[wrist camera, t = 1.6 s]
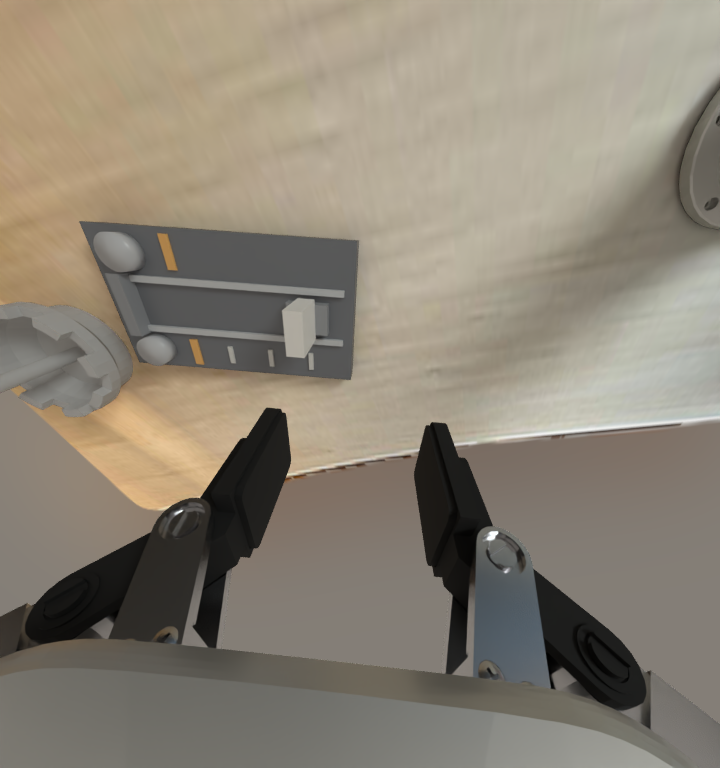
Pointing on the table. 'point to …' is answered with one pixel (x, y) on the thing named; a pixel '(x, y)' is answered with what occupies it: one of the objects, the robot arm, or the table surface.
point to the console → (227, 295)
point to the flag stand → (61, 357)
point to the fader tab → (304, 325)
